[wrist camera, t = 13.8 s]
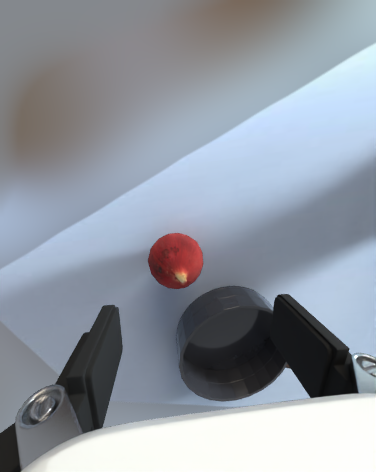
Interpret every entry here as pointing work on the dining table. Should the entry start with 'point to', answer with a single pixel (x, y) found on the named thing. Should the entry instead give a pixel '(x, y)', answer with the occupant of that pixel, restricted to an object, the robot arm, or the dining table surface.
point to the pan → (228, 345)
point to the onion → (175, 260)
